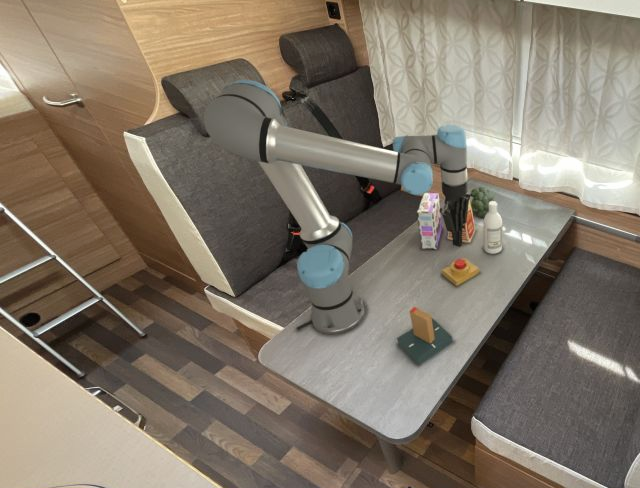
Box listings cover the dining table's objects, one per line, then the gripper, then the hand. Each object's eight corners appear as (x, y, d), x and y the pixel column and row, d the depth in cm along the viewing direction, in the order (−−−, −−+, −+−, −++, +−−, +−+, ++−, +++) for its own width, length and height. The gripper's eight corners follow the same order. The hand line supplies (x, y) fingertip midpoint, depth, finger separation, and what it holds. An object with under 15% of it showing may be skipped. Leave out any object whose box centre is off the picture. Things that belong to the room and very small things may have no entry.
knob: (434, 339, 115) (431, 314, 108) (430, 343, 114) (426, 319, 107) (418, 330, 117) (414, 306, 110) (414, 334, 116) (409, 310, 109)
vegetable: (467, 196, 176) (497, 186, 170) (473, 224, 175) (503, 215, 169) (452, 191, 165) (484, 180, 159) (458, 221, 164) (490, 212, 158)
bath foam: (505, 249, 152) (507, 204, 139) (491, 256, 148) (491, 210, 135) (494, 240, 156) (494, 195, 143) (480, 247, 152) (479, 202, 139)
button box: (456, 286, 136) (456, 277, 133) (442, 274, 140) (441, 265, 138) (479, 273, 141) (478, 264, 139) (464, 262, 146) (464, 253, 143)
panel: (418, 366, 112) (417, 359, 109) (398, 344, 117) (396, 337, 115) (452, 342, 118) (451, 335, 116) (431, 323, 123) (430, 316, 121)
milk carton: (469, 242, 154) (467, 197, 141) (446, 239, 156) (442, 194, 142) (475, 229, 161) (474, 185, 148) (453, 226, 162) (450, 181, 149)
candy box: (437, 249, 151) (433, 212, 140) (421, 249, 151) (416, 212, 140) (442, 228, 161) (439, 192, 150) (428, 227, 161) (423, 191, 150)
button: (459, 270, 137) (459, 266, 135) (452, 265, 138) (452, 261, 137) (467, 266, 139) (467, 262, 137) (461, 261, 140) (460, 257, 139)
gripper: (457, 168, 122) (460, 231, 138) (429, 185, 114) (436, 251, 129) (477, 175, 120) (478, 239, 135) (451, 193, 111) (455, 259, 127)
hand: (457, 244), depth 132 cm, fingers closed
